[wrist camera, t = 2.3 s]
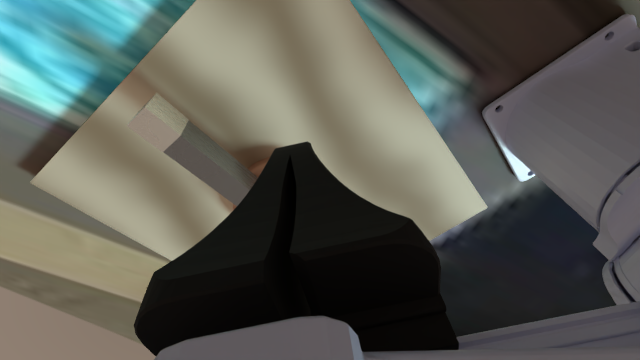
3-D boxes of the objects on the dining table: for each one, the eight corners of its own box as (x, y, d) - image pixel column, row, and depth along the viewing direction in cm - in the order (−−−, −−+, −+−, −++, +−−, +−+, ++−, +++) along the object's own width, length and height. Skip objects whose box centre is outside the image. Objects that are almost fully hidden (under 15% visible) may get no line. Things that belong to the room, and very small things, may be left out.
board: (284, -95, 15) (285, -98, 14) (481, 199, 27) (487, 207, 26) (39, 173, 22) (29, 182, 21) (284, 314, 34) (284, 323, 33)
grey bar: (330, 212, 23) (334, 231, 21) (283, 243, 24) (283, 263, 23) (175, 73, 16) (164, 86, 15) (123, 127, 18) (108, 143, 16)
